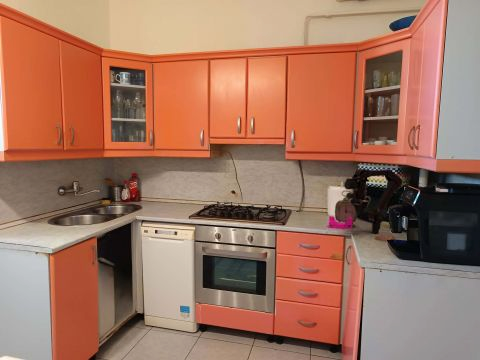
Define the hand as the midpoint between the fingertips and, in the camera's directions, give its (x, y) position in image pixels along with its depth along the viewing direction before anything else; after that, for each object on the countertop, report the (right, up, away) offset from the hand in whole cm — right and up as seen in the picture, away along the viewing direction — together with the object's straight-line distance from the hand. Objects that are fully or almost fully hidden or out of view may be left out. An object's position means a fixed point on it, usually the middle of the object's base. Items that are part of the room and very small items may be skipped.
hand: (360, 213), depth 198 cm
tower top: (+10, -12, -12) cm, 20 cm away
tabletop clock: (-2, -11, +22) cm, 25 cm away
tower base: (+10, -15, -12) cm, 21 cm away
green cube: (+10, -9, -12) cm, 18 cm away
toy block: (-8, -12, +16) cm, 21 cm away
